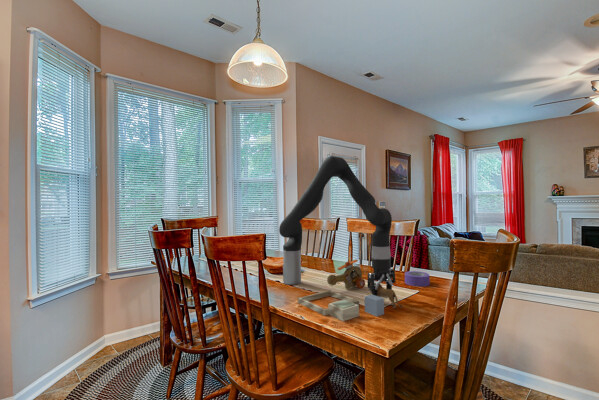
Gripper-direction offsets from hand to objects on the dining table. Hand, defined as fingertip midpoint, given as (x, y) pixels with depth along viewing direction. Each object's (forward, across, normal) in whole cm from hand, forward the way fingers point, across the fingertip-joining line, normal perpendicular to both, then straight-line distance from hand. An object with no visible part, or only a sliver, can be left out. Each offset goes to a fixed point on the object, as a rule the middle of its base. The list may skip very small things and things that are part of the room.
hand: (382, 296), depth 123 cm
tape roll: (+4, -38, -10) cm, 40 cm away
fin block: (+3, +10, +5) cm, 12 cm away
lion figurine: (+3, 0, 0) cm, 3 cm away
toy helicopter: (+3, -3, -24) cm, 25 cm away
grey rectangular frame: (+3, +18, -9) cm, 20 cm away
